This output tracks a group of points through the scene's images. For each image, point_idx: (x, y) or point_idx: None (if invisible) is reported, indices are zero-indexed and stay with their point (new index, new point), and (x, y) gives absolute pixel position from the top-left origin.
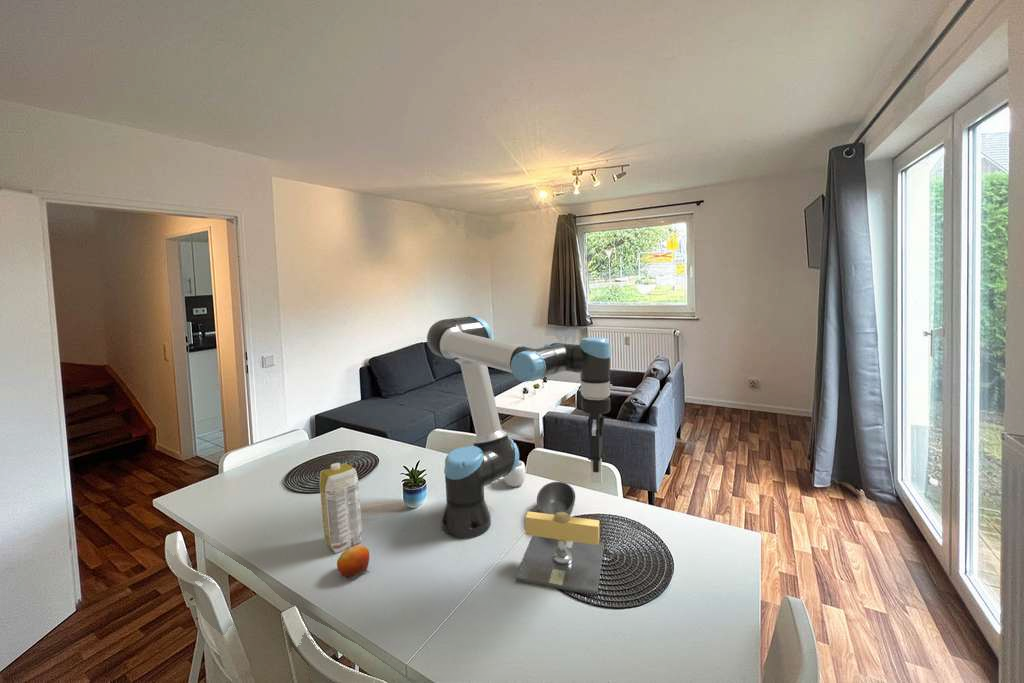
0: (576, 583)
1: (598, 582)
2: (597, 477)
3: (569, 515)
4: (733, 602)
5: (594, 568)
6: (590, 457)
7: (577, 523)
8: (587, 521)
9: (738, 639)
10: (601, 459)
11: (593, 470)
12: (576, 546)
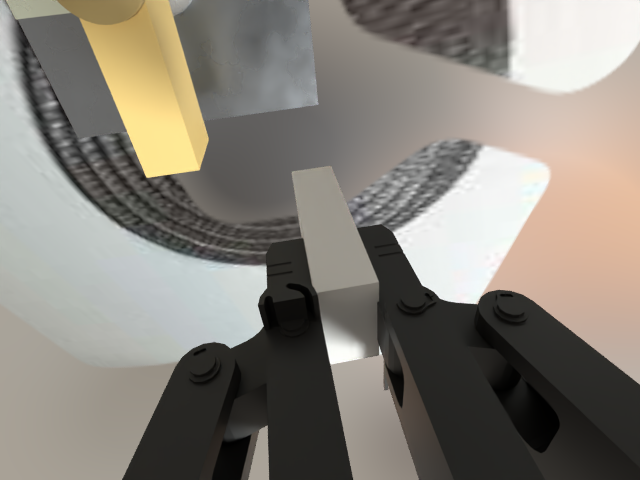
0: (64, 68)
1: (121, 131)
2: (301, 231)
3: (125, 19)
4: (235, 344)
5: None
6: (161, 398)
7: (110, 79)
8: (159, 122)
9: (149, 354)
10: (354, 353)
11: (268, 256)
12: (257, 11)
